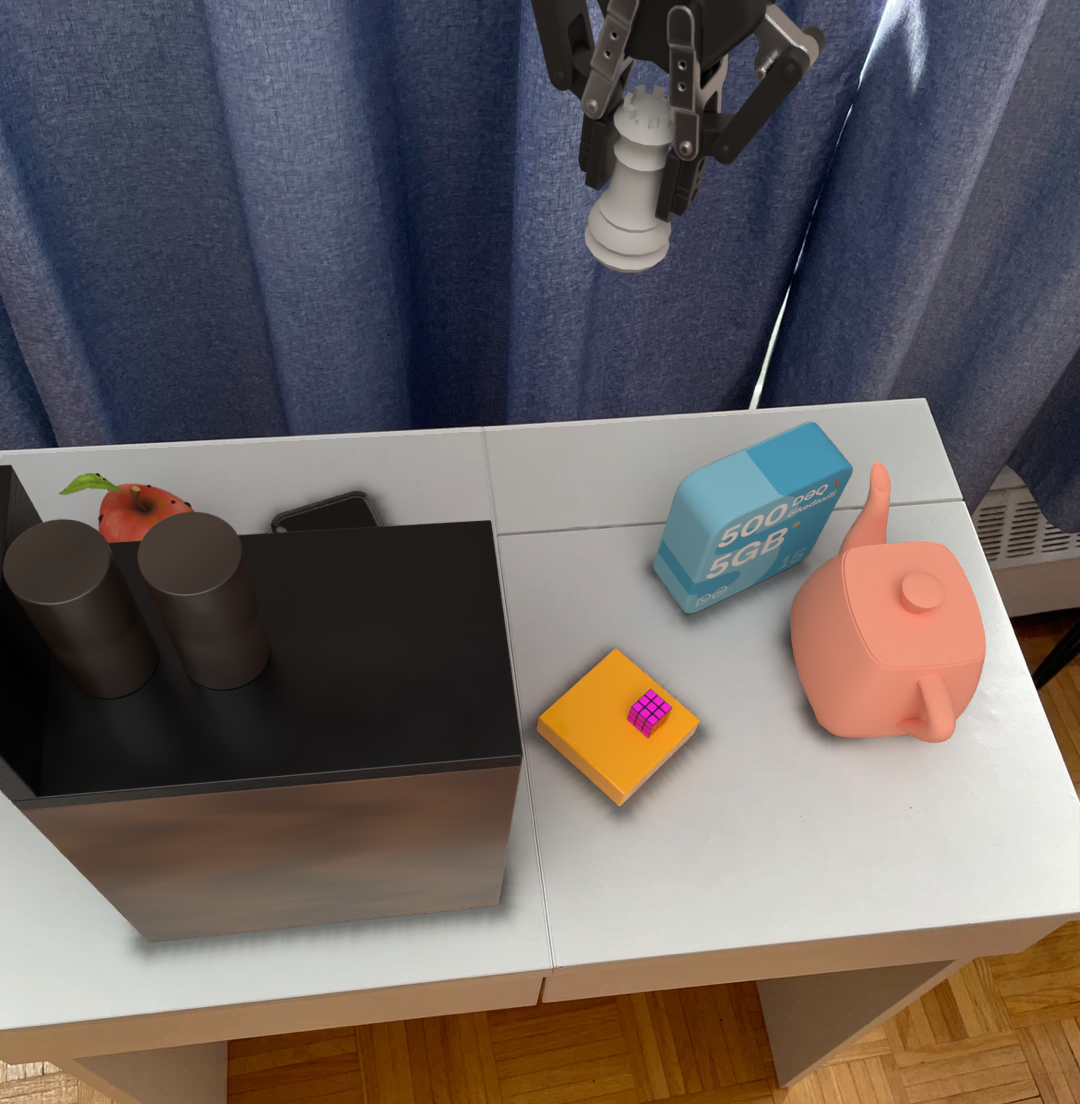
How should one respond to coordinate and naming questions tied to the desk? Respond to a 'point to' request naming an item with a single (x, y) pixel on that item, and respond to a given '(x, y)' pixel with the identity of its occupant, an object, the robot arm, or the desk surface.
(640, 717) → the orange square tile
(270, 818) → the wooden panel
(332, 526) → the phone
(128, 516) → the apple
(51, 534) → the dark brown cylinder
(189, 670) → the dark brown cylinder
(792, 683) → the desk surface
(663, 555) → the data package
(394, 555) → the black flat slab
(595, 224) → the rook chess piece
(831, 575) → the teapot
